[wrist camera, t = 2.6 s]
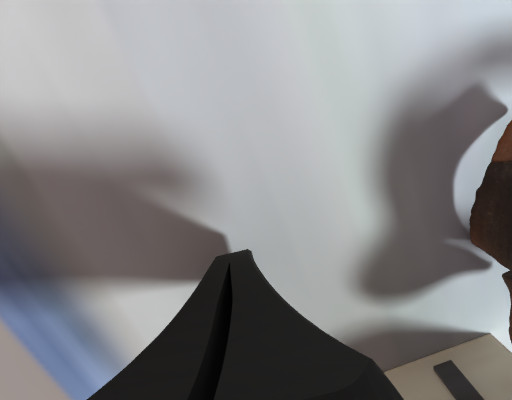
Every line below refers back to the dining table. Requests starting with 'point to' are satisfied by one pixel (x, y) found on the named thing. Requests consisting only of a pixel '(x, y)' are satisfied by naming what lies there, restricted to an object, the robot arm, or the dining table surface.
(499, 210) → the brown curved wooden piece
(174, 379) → the robot arm
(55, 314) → the dining table surface
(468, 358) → the letter cube
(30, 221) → the dining table surface
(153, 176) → the dining table surface
